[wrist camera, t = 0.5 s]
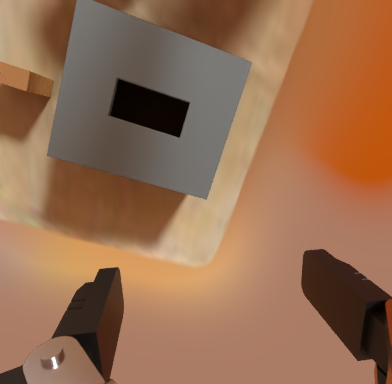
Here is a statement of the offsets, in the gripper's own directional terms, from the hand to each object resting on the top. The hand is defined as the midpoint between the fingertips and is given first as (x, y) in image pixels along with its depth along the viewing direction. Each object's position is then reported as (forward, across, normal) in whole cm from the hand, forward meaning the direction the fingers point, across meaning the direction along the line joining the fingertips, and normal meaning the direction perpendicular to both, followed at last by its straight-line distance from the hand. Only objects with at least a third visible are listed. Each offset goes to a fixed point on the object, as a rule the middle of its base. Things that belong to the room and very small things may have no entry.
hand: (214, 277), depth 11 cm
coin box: (+26, +3, -8) cm, 28 cm away
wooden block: (+27, +18, -12) cm, 34 cm away
